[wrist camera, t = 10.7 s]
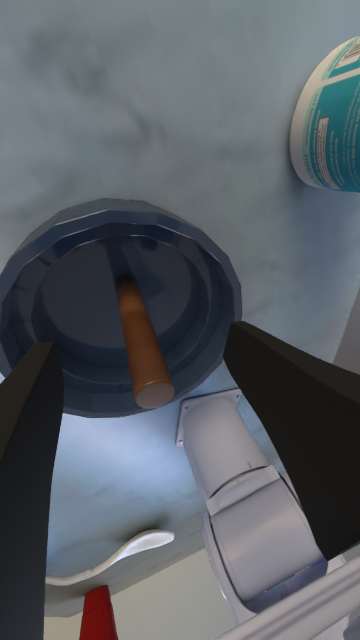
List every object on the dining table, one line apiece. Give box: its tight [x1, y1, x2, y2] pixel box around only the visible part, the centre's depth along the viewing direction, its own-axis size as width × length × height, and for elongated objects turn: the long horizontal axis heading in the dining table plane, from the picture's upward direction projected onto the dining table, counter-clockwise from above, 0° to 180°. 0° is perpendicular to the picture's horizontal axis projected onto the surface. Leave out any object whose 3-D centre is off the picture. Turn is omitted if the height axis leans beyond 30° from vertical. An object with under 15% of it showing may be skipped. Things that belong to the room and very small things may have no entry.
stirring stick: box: [115, 274, 175, 408], centre depth 13 cm, size 2×2×10 cm
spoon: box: [45, 529, 174, 586], centre depth 43 cm, size 9×32×4 cm, turn 80°
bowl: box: [0, 198, 242, 418], centre depth 17 cm, size 15×15×4 cm
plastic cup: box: [79, 586, 118, 640], centre depth 56 cm, size 11×11×12 cm
